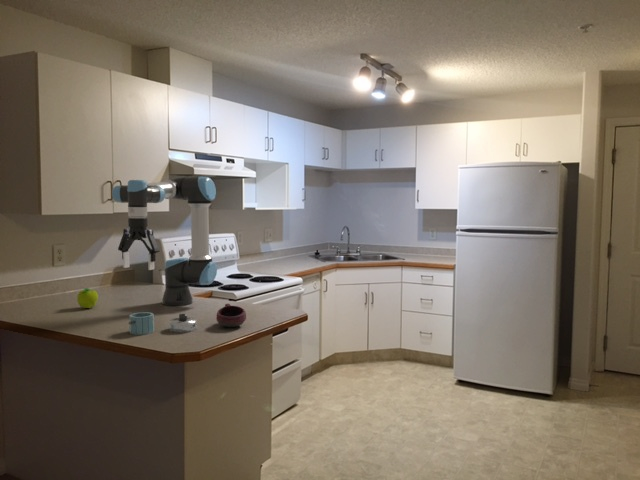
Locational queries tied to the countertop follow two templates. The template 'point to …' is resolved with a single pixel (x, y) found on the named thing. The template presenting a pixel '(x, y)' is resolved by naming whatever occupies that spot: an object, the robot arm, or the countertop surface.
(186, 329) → the lid
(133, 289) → the countertop surface
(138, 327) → the pot
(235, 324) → the bowl
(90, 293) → the fruit
